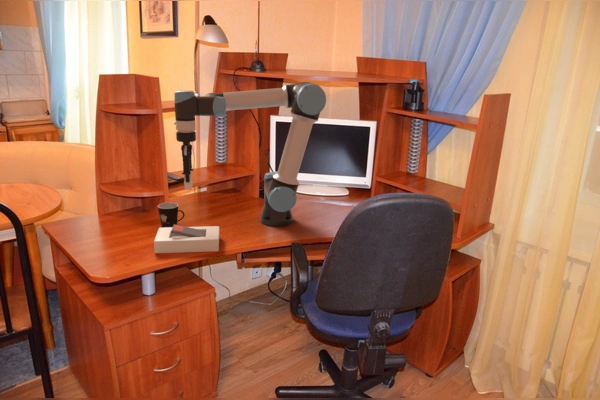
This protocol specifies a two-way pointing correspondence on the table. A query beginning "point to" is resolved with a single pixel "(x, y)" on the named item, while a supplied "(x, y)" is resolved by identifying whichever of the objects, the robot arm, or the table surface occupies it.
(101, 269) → the table surface
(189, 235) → the breaker rocker
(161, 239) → the breaker panel
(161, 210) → the coffee mug
